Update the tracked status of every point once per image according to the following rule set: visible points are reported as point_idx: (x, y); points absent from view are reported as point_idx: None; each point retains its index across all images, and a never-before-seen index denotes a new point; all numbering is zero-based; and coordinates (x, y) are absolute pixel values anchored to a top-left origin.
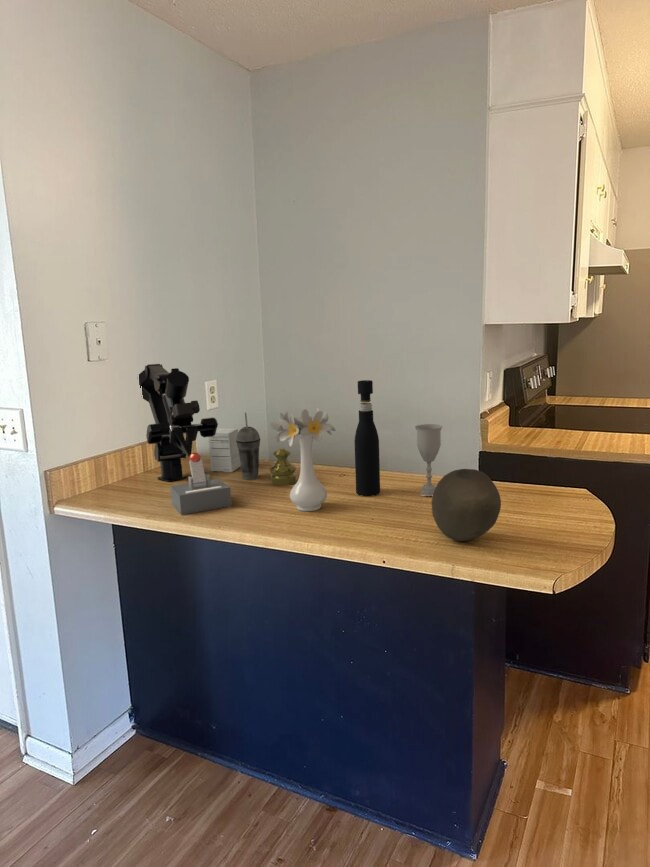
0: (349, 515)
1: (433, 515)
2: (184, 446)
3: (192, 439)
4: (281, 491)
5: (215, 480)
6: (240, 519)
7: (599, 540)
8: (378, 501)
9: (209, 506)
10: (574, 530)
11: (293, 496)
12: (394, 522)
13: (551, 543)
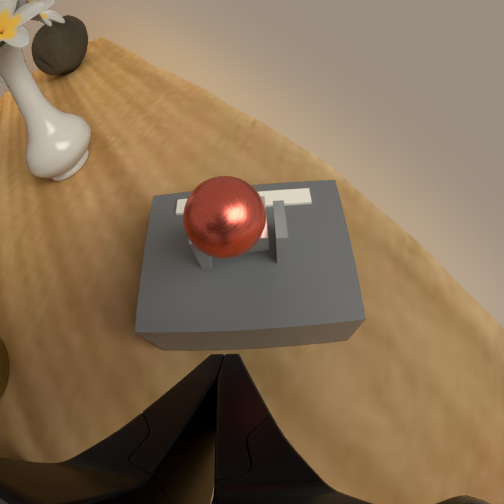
0: None
1: (78, 47)
2: (253, 396)
3: (112, 436)
4: (26, 293)
5: (154, 312)
6: (199, 143)
7: (33, 72)
8: (5, 165)
9: None
10: None
11: (86, 128)
12: (61, 101)
13: None
